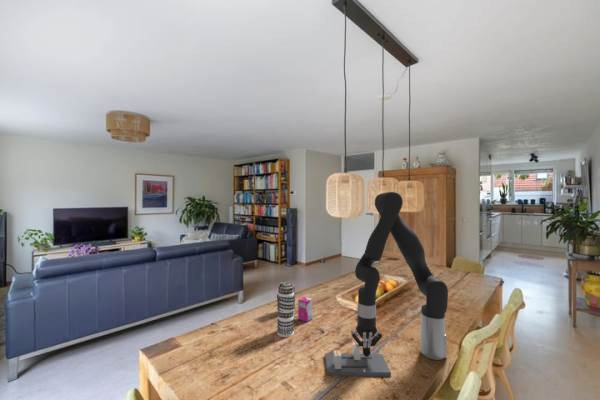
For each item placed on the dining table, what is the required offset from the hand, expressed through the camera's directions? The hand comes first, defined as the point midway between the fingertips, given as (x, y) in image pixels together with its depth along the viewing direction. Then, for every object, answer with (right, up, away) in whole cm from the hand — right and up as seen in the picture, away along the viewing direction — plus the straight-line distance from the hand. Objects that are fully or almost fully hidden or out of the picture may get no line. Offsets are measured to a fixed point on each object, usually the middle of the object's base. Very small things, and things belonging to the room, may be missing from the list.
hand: (366, 355), depth 110 cm
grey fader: (-13, -1, -6) cm, 14 cm away
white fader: (-4, -1, 0) cm, 4 cm away
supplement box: (-24, -3, +38) cm, 45 cm away
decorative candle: (-35, -3, +23) cm, 42 cm away
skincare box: (-35, -2, +48) cm, 60 cm away
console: (-5, -3, -3) cm, 6 cm away
